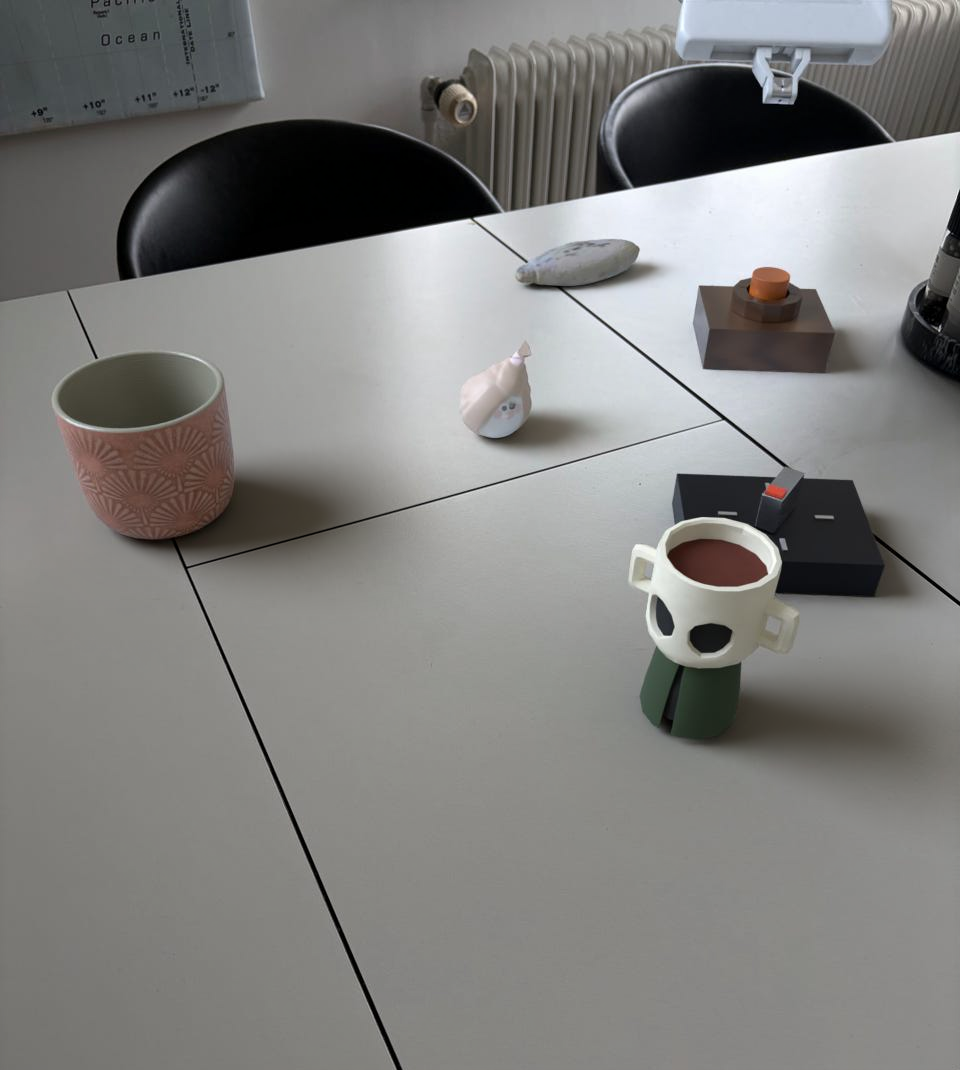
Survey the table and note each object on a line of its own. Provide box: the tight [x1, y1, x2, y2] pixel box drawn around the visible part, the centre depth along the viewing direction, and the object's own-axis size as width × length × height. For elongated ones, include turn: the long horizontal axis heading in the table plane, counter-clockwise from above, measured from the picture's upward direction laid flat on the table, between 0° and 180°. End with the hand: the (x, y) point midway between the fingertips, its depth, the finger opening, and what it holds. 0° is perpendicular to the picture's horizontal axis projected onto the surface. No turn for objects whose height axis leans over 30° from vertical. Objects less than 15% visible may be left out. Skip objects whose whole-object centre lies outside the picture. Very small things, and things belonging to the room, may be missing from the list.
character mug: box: [627, 517, 801, 740], centre depth 64 cm, size 11×7×13 cm, turn 53°
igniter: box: [692, 277, 836, 374], centre depth 104 cm, size 12×10×6 cm
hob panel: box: [671, 472, 886, 598], centre depth 80 cm, size 14×11×3 cm
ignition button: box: [749, 266, 791, 300], centre depth 102 cm, size 4×4×2 cm
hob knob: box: [755, 466, 805, 533], centre depth 78 cm, size 4×2×3 cm, turn 146°
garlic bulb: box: [458, 339, 533, 439], centre depth 91 cm, size 7×6×8 cm
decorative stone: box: [514, 238, 641, 287], centre depth 117 cm, size 6×16×3 cm, turn 116°
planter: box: [51, 348, 235, 540], centre depth 80 cm, size 12×12×11 cm
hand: (779, 100), depth 100 cm, fingers closed
